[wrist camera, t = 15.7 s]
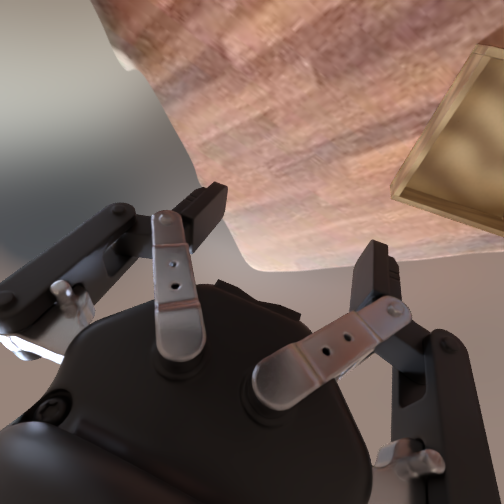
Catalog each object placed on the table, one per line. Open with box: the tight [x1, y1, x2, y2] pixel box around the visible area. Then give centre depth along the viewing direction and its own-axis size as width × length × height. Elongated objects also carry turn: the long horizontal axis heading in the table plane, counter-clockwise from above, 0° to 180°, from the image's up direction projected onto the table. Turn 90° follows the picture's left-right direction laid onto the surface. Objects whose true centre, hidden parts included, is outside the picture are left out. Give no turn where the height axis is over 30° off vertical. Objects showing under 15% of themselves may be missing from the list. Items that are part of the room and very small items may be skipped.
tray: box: [390, 44, 504, 237], centre depth 30 cm, size 16×15×4 cm
